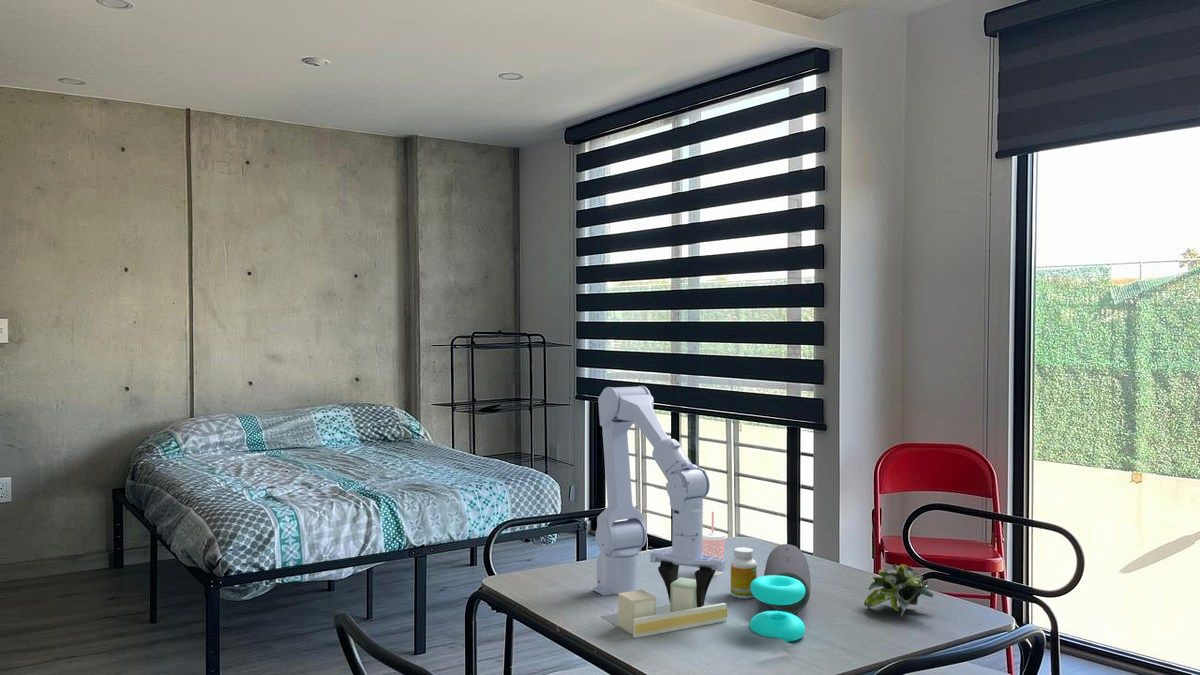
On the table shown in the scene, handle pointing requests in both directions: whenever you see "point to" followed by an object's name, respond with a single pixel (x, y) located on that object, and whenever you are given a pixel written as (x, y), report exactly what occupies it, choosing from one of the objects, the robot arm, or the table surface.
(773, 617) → the donuts
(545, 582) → the table surface
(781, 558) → the bluetooth speaker
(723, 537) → the beverage cup
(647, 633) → the shelf board
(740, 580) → the supplement bottle
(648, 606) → the beige block
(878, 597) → the green leafy plant
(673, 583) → the sage carton
